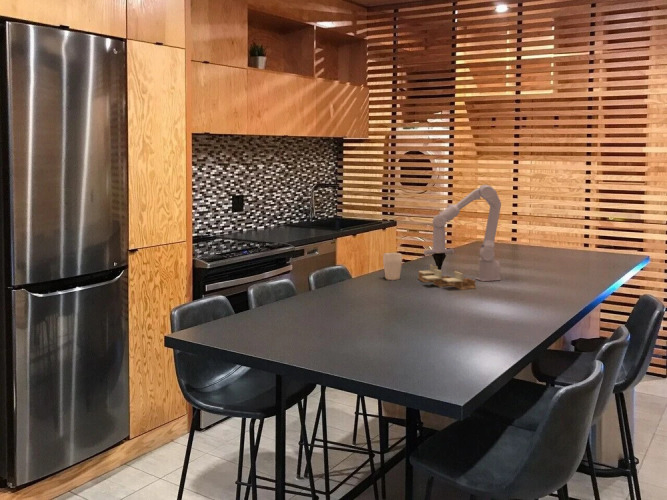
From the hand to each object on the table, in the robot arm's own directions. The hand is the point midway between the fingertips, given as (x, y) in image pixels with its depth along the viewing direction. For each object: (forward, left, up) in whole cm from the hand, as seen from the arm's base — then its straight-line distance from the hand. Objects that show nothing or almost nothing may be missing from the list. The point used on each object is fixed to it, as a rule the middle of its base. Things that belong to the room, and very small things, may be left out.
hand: (438, 269), depth 316 cm
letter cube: (+5, 0, -5) cm, 8 cm away
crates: (+1, +11, -5) cm, 12 cm away
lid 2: (+9, +13, -1) cm, 16 cm away
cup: (+19, -10, -5) cm, 22 cm away
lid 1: (+6, 0, -1) cm, 6 cm away
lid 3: (+3, +22, -1) cm, 22 cm away
